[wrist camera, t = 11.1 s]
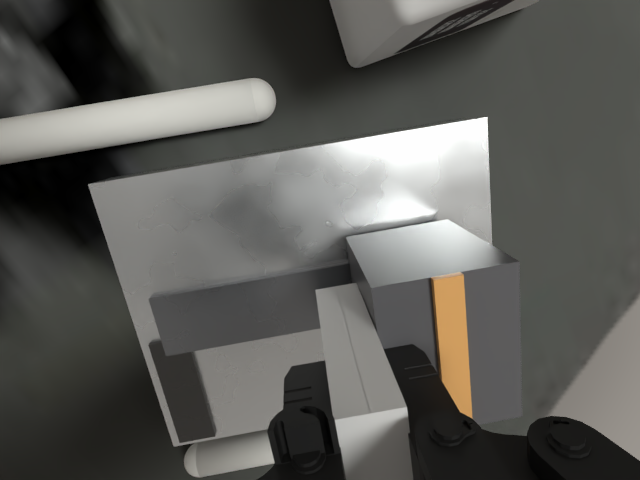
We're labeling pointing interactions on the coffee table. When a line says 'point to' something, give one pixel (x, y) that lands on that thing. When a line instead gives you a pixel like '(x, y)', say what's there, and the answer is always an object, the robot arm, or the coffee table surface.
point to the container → (408, 23)
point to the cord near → (135, 119)
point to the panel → (269, 256)
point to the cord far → (228, 454)
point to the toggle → (447, 309)
